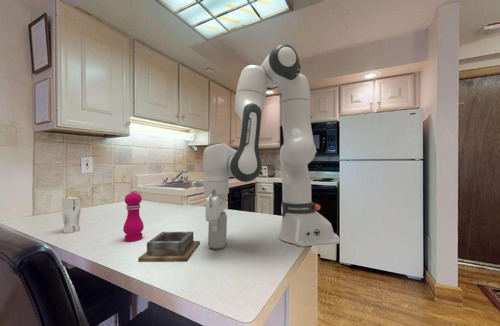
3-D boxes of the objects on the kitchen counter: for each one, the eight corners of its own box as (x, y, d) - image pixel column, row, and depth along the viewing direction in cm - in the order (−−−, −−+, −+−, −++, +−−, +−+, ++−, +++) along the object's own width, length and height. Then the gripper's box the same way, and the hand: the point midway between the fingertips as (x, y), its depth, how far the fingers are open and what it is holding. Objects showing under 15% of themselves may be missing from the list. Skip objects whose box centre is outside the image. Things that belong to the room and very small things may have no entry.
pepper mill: (147, 237, 90) (147, 188, 90) (131, 243, 83) (131, 190, 83) (135, 235, 93) (135, 187, 93) (119, 240, 86) (118, 189, 86)
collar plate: (199, 243, 82) (199, 230, 82) (187, 261, 67) (186, 244, 67) (159, 243, 82) (159, 230, 82) (138, 261, 67) (138, 245, 67)
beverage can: (222, 250, 74) (223, 214, 75) (204, 248, 76) (205, 213, 76) (228, 244, 80) (229, 211, 81) (212, 242, 82) (213, 210, 82)
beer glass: (57, 232, 98) (57, 199, 98) (75, 228, 104) (74, 196, 105) (67, 234, 95) (67, 199, 96) (84, 229, 102) (84, 197, 102)
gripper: (220, 192, 68) (221, 237, 67) (228, 185, 88) (229, 220, 88) (199, 192, 68) (201, 237, 68) (213, 186, 88) (213, 220, 88)
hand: (217, 227), depth 78 cm, fingers open, 6 cm apart
